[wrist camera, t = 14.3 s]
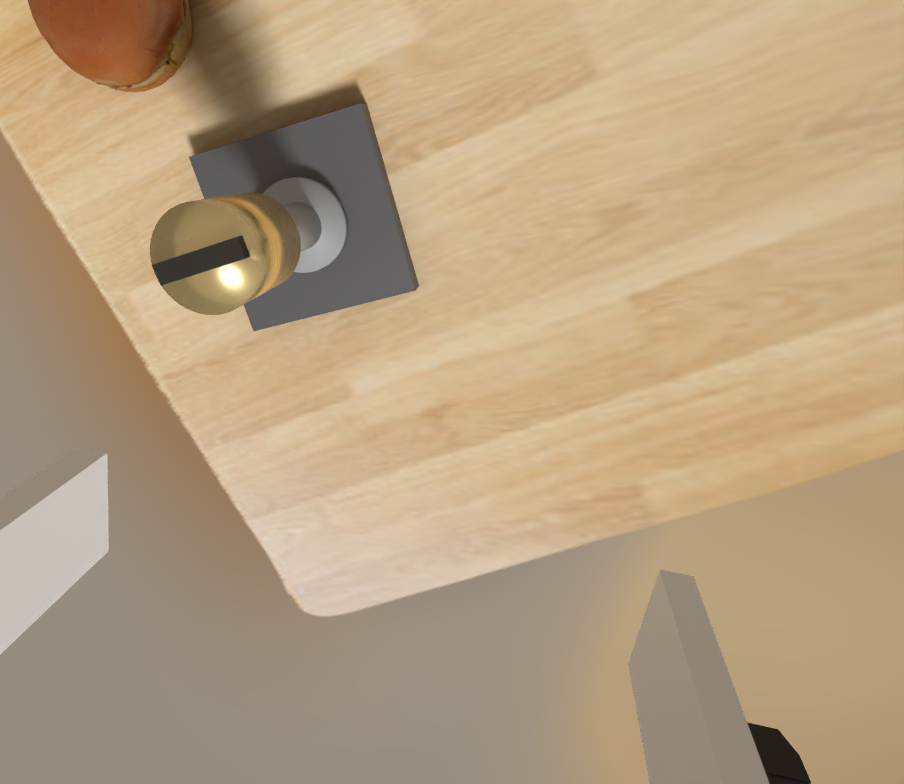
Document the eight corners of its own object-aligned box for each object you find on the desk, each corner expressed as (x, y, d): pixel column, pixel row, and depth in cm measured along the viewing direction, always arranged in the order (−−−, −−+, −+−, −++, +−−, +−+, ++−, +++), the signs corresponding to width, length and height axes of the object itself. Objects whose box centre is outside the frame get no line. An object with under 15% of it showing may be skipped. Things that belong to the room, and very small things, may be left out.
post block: (366, 104, 43) (320, 93, 34) (418, 286, 47) (390, 321, 38) (199, 156, 46) (113, 159, 36) (261, 325, 49) (197, 368, 40)
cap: (279, 179, 36) (226, 186, 30) (314, 274, 37) (271, 300, 31) (193, 209, 37) (124, 222, 31) (230, 300, 38) (172, 330, 32)
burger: (173, 116, 45) (134, 113, 41) (44, 47, 45) (-10, 36, 40) (223, -38, 42) (186, -60, 37) (84, -116, 41) (30, -147, 37)
